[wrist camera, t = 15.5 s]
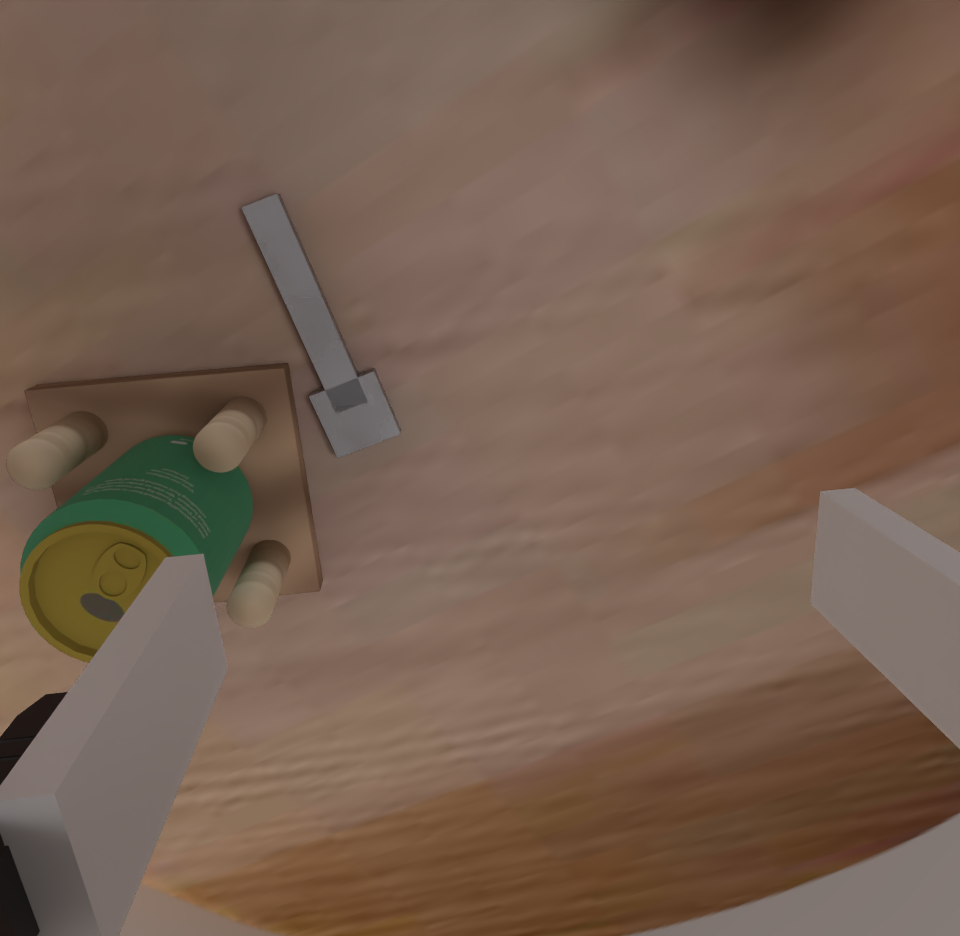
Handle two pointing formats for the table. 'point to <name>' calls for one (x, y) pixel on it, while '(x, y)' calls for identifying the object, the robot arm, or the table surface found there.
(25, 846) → the robot arm
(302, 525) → the peg board
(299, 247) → the grey square paddle
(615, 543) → the table surface
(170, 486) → the beverage can
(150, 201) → the table surface
